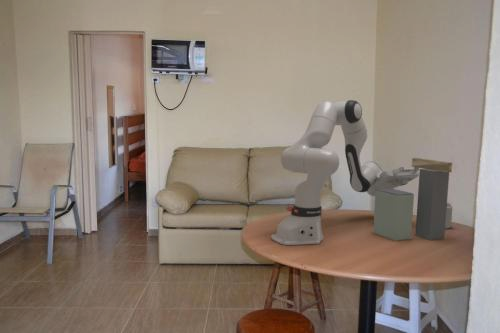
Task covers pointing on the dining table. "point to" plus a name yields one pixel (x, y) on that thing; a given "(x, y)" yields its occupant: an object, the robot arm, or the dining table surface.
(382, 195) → the grey block
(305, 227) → the robot arm
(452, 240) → the dining table surface
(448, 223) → the can
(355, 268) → the dining table surface
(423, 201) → the pedestal
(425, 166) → the bar
